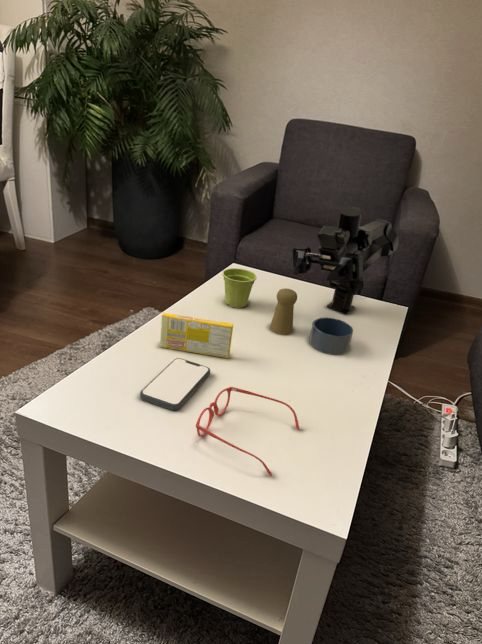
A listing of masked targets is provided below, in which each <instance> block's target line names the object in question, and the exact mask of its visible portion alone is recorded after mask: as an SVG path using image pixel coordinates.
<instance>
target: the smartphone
mask: <svg viewBox="0 0 482 644" xmlns="http://www.w3.org/2000/svg"><path fill="white" fill-rule="evenodd" d="M210 374H211V368H210V367H208V366H206V365H202V364H199V363H196V362H194V361H190V360H187V359H184V358H180V357H178V358H177V357H176V358H174V359H173V360H172V361H171V362H170V363H169V364H168V365H167V366H165V368H163V369H162V371H161V372H159V373H158V374H157V375H156V376H155V377H154V378H153V379H152V380H151V381H150V382H149V383H148V384H147V385H146V386H144V388H142V389H141V390H140V392H139V397H140V399H141V400H142V401H144V402H147V403H150V404H152V405H156V406H159V407H161V408H164V409H167V410H169V411H178V410H180V409H181V408H182V406H183V405H185V403H186V402H187V401H188V400H189V399H190V398H191V397H192V395H193V394H194V393H195V392H196V391H197V390H198V389H199V388H200V386H202V384H203V383H204V382H205V381H206V380H207V378H208V377H210V376H211V375H210Z"/></svg>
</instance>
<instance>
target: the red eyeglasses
mask: <svg viewBox="0 0 482 644" xmlns="http://www.w3.org/2000/svg"><path fill="white" fill-rule="evenodd" d="M224 392H227V399H226V404H225V406H224V408H223V410H222V411H221V412H220V413H219V407H218V404H217V403H218V400H219V398H220V396H221V395H222V394H223V393H224ZM231 392H236V393H241V394H245V395H250V396H254V397H259V398H262V399H265V400H269V401H273V402H276V403H280V404H282V405H284V406H286V407H287V408H288V409H289V410H290V411H291V412H292V415H293V416H294V417H293V418H294V423H295V424H294V425H295V428H296V430H298V431H299V430H300V425H299V420H298V416H297V414H296V411H295V409H294V408H293V407H292V406H291V405H290V404H288V403H287V402H284V401H282V400H279V399H277V398H272V397H269V396H266V395H262V394H259V393H256V392H253V391H250V390H245V389H242V388H238V387H234V386H229V387H226V388H224V389H222V390H221V391H219V392H218V394H217V395H216V397H215V400H214V401H213V402H210V403H209V405H208V406H207V407H205V408H203V410H202V411H201V413H200V415H199V416H198V418H197V421H196V423H195V428H196V433H197V436H198V437H199V438H203V437H205V435H208V436H209V437H212V438H214V439H216V440H218V441H220V442H222V443H224V444H226V445H228V446H230V447H231V448H234V449H236V450H237V451H240V452H242V453H244V454H246V455H249V456H251V457H253V458H254V459H256V460H258V461H259V462H260V463H261V464H262V466H263V467H264V469H265V471H266V473H267V474H268V475H270V476H272V475H273V473H272V472H271V470H270V469H269V467H268V466H267V464H266V463H265V462H264V461H263V460H262V459H261V458H259V457H258V456H256V455H255V454H253V453H251V452H249V451H247V450H245V449H243V448H241V447H239V446H236V445H235V444H233V443H231V442H229V441H227V440H225V439H223V438H222V437H220V436H218V435H217V434H215V433H213V432H212V431H210V430H209V428H210V426H211V424H212V421H213V419H214V417H215V416H217V417H221V416H222V415H223V414H224V413H226V411H227V408H228V406H229V403H230V401H231V400H230V399H231ZM206 411H208V420H207V421H208V422H207V424H206V428H205V427H203V426H201V424H200V423H201V419H202V417H203V415H204V413H205V412H206ZM200 431H201V432H202V434H201V432H200Z"/></svg>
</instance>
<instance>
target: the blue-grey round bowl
mask: <svg viewBox="0 0 482 644" xmlns="http://www.w3.org/2000/svg"><path fill="white" fill-rule="evenodd" d="M309 333H310V334H309V340H308V342H309V344H310V346H311V347H312V348H313V349H315V350H316V351H319V352H320V353H324V354H327V355H342V354H343V355H344V354H346V353H348V351H349V349H350V345H351V342H352V338H353V334H354V329H353V327H352V326H351V325H350V324H349V323H347V322H345V321H343V320H341V319H337V318H334V317H318V318H316V319H314V320H313V321H312V324H311V329H310V332H309Z"/></svg>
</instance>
